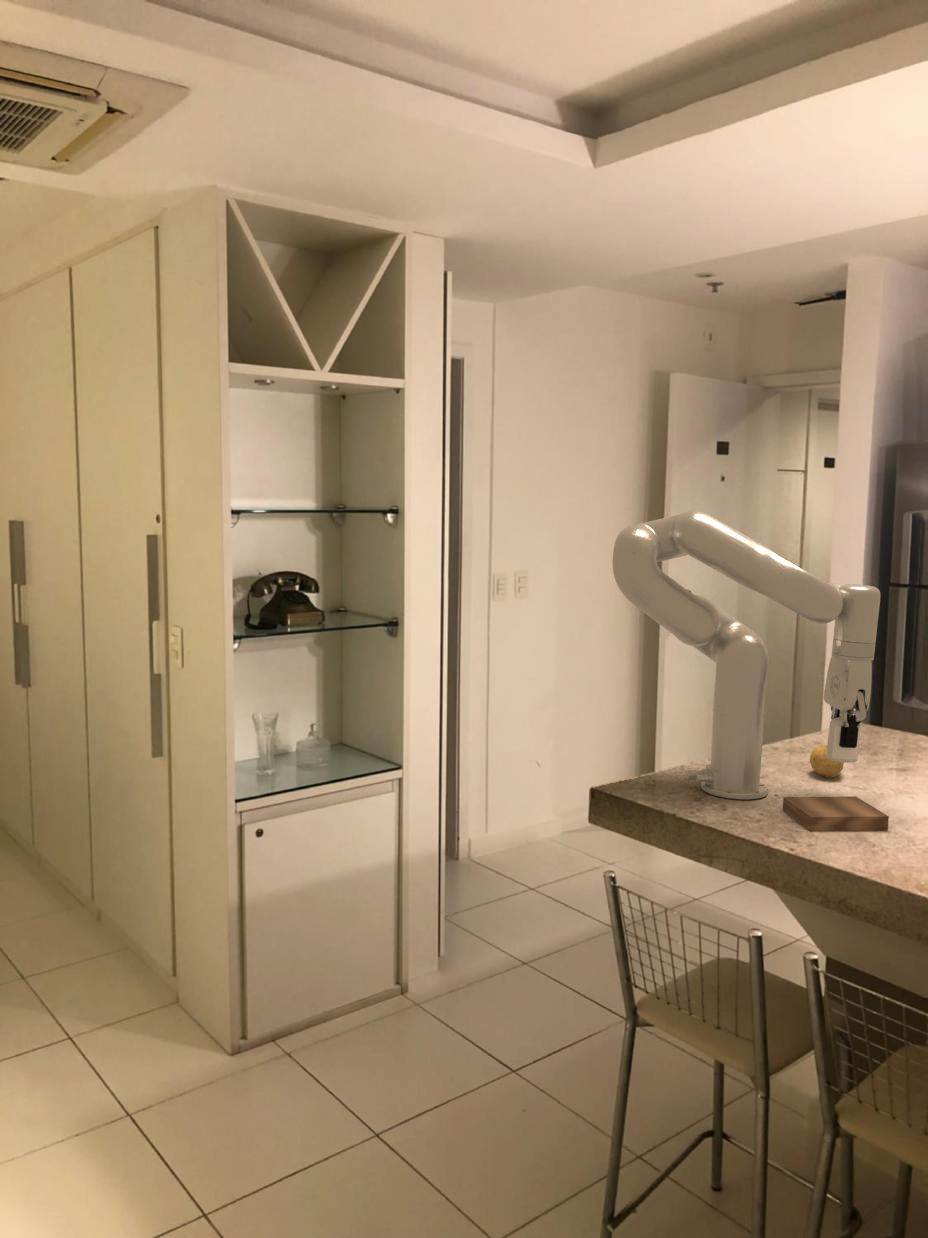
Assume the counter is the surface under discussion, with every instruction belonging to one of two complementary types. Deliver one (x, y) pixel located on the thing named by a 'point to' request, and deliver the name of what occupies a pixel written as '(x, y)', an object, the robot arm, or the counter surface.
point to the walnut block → (835, 814)
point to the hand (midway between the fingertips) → (842, 743)
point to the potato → (824, 763)
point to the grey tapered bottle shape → (833, 747)
